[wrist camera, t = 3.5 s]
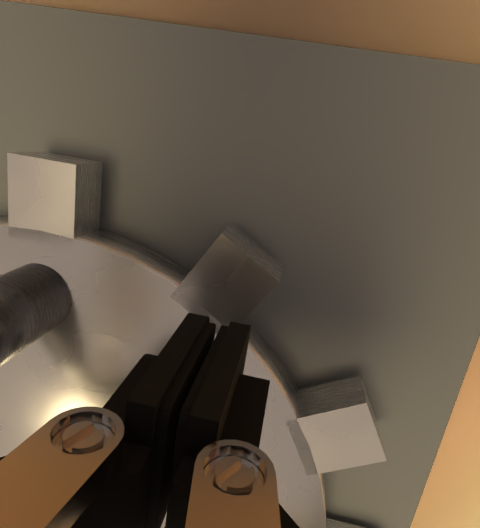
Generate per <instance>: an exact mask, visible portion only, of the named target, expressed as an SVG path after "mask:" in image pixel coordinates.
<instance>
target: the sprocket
mask: <svg viewBox="0 0 480 528" xmlns="http://www.w3.org/2000/svg"><path fill="white" fill-rule="evenodd" d="M102 164H103V162H99V161H93V160H88V159H82V158H76V157H70V156H65V155H59V154H53V153H48V152H42V151H37V152H10V153H7V169H8V217H0V457H3V456H7V455H8V454H9V453H10V452H11V451H13V450H14V449H15V448H16V447H18V446H19V445H20V444H21V443H22V442H24V441H25V440H26V439H27V438H29V437H30V436H31V435H32V434H33V433H35V432H36V431H37V430H38V429H40V428H41V427H42V426H43V425H44V424H46V423H47V422H48V421H49V420H50V419H52V418H53V417H55V416H57V415H58V414H60V413H62V412H64V411H67V410H70V409H72V408H78V407H84V406H88V407H100V408H103V406H104V405H105V404H106V402H107V401H108V400H109V399H110V397H111V396H112V395H113V393H114V392H115V391H116V390H117V388H118V387H119V386H120V384H121V383H122V382H123V381H124V379H125V378H126V377H127V375H128V374H129V373H130V372H131V370H132V369H133V368H134V367H135V365H136V364H137V363H138V361H139V360H140V359H141V358H142V356H143V355H144V354H152V355H157V356H158V355H159V353H160V352H161V351H162V349H163V348H164V346H165V345H166V344H167V342H168V341H169V339H170V338H171V336H172V335H173V334H174V332H175V331H176V329H177V328H178V327H179V325H180V324H181V322H182V321H183V320H184V318H185V317H186V315H187V314H188V313H193V314H198V315H203V316H208V317H209V319H210V321H209V322H210V323H215V324H216V331H215V337H216V335H217V333H218V331H219V329H220V327H221V325H224V326H229V324H230V322H231V321H232V322H237V323H242V324H247V325H251V331H250V337H249V343H248V349H247V355H246V360H245V366H244V372H243V375H248V376H253V377H257V378H262V379H266V380H270V385H269V391H268V397H267V403H266V409H265V415H264V421H263V427H262V433H261V439H260V445H259V449H261V450H262V451H263V452H264V453H265V454H267V455H268V457H269V458H270V460H271V461H272V463H273V465H274V468H275V472H276V478H277V489H278V501H279V504H280V505H281V506H282V507H283V509H284V510H285V511H286V512H287V513H288V514H289V516H290V517H291V518H292V519H293V520H294V521H295V523H296V524H297V525H298V526H299V527H300V528H364V527H360V526H356V525H352V524H348V523H345V522H341V521H337V520H333V519H329V518H326V510H325V486H324V475H323V473H326V472H331V471H337V470H342V469H347V468H352V467H358V466H363V465H368V464H373V463H379V462H384V461H387V459H386V455H385V451H384V447H383V443H382V439H381V434H380V430H379V427H378V424H377V421H376V418H375V415H374V412H373V409H372V406H371V404H370V401H369V398H368V395H367V392H366V389H365V386H364V383H363V381H362V378H361V375H357V376H353V377H349V378H344V379H340V380H336V381H332V382H328V383H324V384H320V385H316V386H312V387H308V388H303V389H299V390H297V387H296V385H295V383H294V381H293V380H292V378H291V377H290V375H289V374H288V372H287V370H286V369H285V367H284V366H283V364H282V363H281V361H280V360H279V358H278V357H277V355H276V353H275V352H274V350H273V349H272V348H271V347H270V345H269V344H268V343H267V342H266V341H265V340H264V338H263V337H262V336H261V335H260V334H259V332H258V331H257V330H256V329H255V328H254V326H253V325H252V324H251V323H250V322H249V321H248V319H247V318H246V317H247V316H248V315H249V314H250V313H251V312H252V311H253V310H254V309H255V307H256V306H257V305H258V304H259V303H260V302H261V301H262V300H263V299H264V298H265V297H266V295H267V294H268V293H269V292H270V291H271V290H272V289H273V288H274V287H275V286H276V285H277V283H278V282H279V281H280V276H281V272H282V267H283V265H282V264H280V263H279V262H278V261H277V260H276V259H274V258H273V257H272V256H271V255H270V254H268V253H267V252H266V251H265V250H264V249H262V248H261V247H260V246H259V245H258V244H256V243H255V242H254V241H253V240H252V239H250V238H249V237H248V236H247V235H246V234H244V233H243V232H242V231H241V230H239V229H238V228H237V227H236V226H235V225H233V224H232V223H231V224H230V225H229V226H228V227H227V228H226V229H225V230H224V231H223V232H222V233H221V234H220V236H219V237H218V238H217V239H216V240H215V242H214V243H213V244H212V245H211V247H210V248H209V249H208V250H207V252H206V253H205V254H204V255H203V256H202V258H201V259H200V260H199V261H198V263H197V264H196V265H195V266H194V268H193V269H192V270H191V271H188V270H187V269H186V268H184V267H183V266H181V265H179V264H177V263H176V262H174V261H172V260H170V259H168V258H166V257H165V256H163V255H161V254H159V253H157V252H156V251H154V250H152V249H150V248H148V247H147V246H144V245H142V244H139V243H137V242H134V241H132V240H129V239H127V238H124V237H122V236H119V235H117V234H114V233H112V232H109V231H106V230H102V229H99V223H100V203H101V184H102ZM214 340H215V338H214ZM166 515H167V513H166ZM166 515H165V518H164V520H163V523H162V525H161V528H165V523H166Z"/></svg>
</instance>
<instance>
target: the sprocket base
mask: <svg viewBox="0 0 480 528" xmlns="http://www.w3.org/2000/svg"><path fill="white" fill-rule="evenodd" d="M37 151H42V152H48V153H53V154H59V155H65V156H70V157H76V158H82V159H88V160H93V161H99V162H103V164H102V184H101V203H100V223H99V229H102V230H106V231H109V232H112V233H114V234H117V235H119V236H122V237H124V238H127V239H129V240H132V241H134V242H137V243H139V244H142V245H144V246H147V247H148V248H150V249H152V250H154V251H156V252H157V253H159V254H161V255H163V256H165V257H166V258H168V259H170V260H172V261H174V262H176V263H177V264H179V265H181V266H183V267H184V268H186V269H187V270H188V271H191V270H192V269H193V268H194V266H195V265H196V264H197V263H198V261H199V260H200V259H201V258H202V256H203V255H204V254H205V253H206V252H207V250H208V249H209V248H210V247H211V245H212V244H213V243H214V242H215V240H216V239H217V238H218V237H219V236H220V234H221V233H222V232H223V231H224V230H225V229H226V228H227V227H228V226H229V225H230V224H231V223H232V224H233V225H235V226H236V227H237V228H238V229H239V230H241V231H242V232H243V233H244V234H246V235H247V236H248V237H249V238H250V239H252V240H253V241H254V242H255V243H256V244H258V245H259V246H260V247H261V248H262V249H264V250H265V251H266V252H267V253H268V254H270V255H271V256H272V257H273V258H274V259H276V260H277V261H278V262H279V263H280V264H282V265H283V267H282V272H281V276H280V281H279V282H278V283H277V285H276V286H275V287H274V288H273V289H272V290H271V291H270V292H269V293H268V294H267V295H266V297H265V298H264V299H263V300H262V301H261V302H260V303H259V304H258V305H257V306H256V307H255V309H254V310H253V311H252V312H251V313H250V314H249V315H248V316H247V317H246V318H247V319H248V321H249V322H250V323H251V324H252V325H253V326H254V328H255V329H256V330H257V331H258V332H259V334H260V335H261V336H262V337H263V338H264V340H265V341H266V342H267V343H268V344H269V345H270V347H271V348H272V349H273V350H274V352H275V353H276V355H277V357H278V358H279V360H280V361H281V363H282V364H283V366H284V367H285V369H286V370H287V372H288V374H289V375H290V377H291V378H292V380H293V381H294V383H295V385H296V387H297V390H299V389H303V388H308V387H312V386H316V385H320V384H324V383H328V382H332V381H336V380H340V379H344V378H349V377H353V376H357V375H361V378H362V381H363V383H364V386H365V389H366V392H367V395H368V398H369V401H370V404H371V406H372V409H373V412H374V415H375V418H376V421H377V424H378V427H379V430H380V434H381V439H382V443H383V447H384V451H385V455H386V459H387V461H384V462H379V463H373V464H368V465H363V466H358V467H352V468H347V469H342V470H337V471H331V472H326V473H323V475H324V486H325V510H326V518H329V519H333V520H337V521H341V522H345V523H348V524H352V525H356V526H360V527H364V528H410V526H411V523H412V520H413V518H414V515H415V512H416V509H417V507H418V504H419V501H420V498H421V496H422V493H423V490H424V487H425V484H426V482H427V479H428V476H429V473H430V471H431V468H432V465H433V462H434V460H435V457H436V454H437V451H438V449H439V446H440V443H441V440H442V438H443V435H444V432H445V429H446V427H447V424H448V421H449V418H450V416H451V413H452V410H453V407H454V405H455V402H456V399H457V396H458V394H459V391H460V388H461V385H462V383H463V380H464V377H465V374H466V372H467V369H468V366H469V363H470V361H471V358H472V355H473V352H474V349H475V347H476V344H477V341H478V338H479V336H480V65H479V64H472V63H464V62H457V61H449V60H442V59H435V58H427V57H420V56H412V55H405V54H397V53H390V52H382V51H375V50H368V49H360V48H353V47H345V46H338V45H330V44H323V43H316V42H308V41H301V40H293V39H286V38H278V37H271V36H263V35H256V34H249V33H241V32H234V31H226V30H219V29H211V28H204V27H196V26H189V25H182V24H174V23H167V22H159V21H152V20H144V19H137V18H130V17H122V16H115V15H107V14H100V13H92V12H85V11H77V10H70V9H63V8H55V7H48V6H40V5H33V4H25V3H18V2H11V1H3V0H0V217H8V169H7V153H10V152H37Z"/></svg>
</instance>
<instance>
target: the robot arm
mask: <svg viewBox="0 0 480 528" xmlns="http://www.w3.org/2000/svg"><path fill="white" fill-rule="evenodd" d="M209 321H210V319H209V317H208V316H203V315H198V314H193V313H188V314H187V315H186V317H185V318H184V320H183V321H182V322H181V324H180V325H179V327H178V328H177V329H176V331H175V332H174V334H173V335H172V336H171V338H170V339H169V341H168V342H167V344H166V345H165V346H164V348H163V349H162V351H161V352H160V353H159V355H158V356H157V355H152V354H144V355H143V356H142V358H141V359H140V360H139V361H138V363H137V364H136V365H135V367H134V368H133V369H132V370H131V372H130V373H129V374H128V375H127V377H126V378H125V379H124V381H123V382H122V383H121V384H120V386H119V387H118V388H117V390H116V391H115V392H114V393H113V395H112V396H111V397H110V399H109V400H108V401H107V402H106V404H105V405H104V406H103V408H100V407H88V406H84V407H78V408H72V409H70V410H67V411H64V412H62V413H60V414H58V415H57V416H55V417H53V418H52V419H50V420H49V421H48V422H47V423H46V424H44V425H43V426H42V427H41V428H40V429H38V430H37V431H36V432H35V433H33V434H32V435H31V436H30V437H29V438H27V439H26V440H25V441H24V442H22V443H21V444H20V445H19V446H18V447H16V448H15V449H14V450H13V451H11V452H10V453H9V454H8V455H7V456H3V457H0V528H161V525H162V523H163V520H164V518H165V515H166V513H167V515H166V523H165V528H300V527H299V526H298V525H297V524H296V523H295V521H294V520H293V519H292V518H291V517H290V516H289V514H288V513H287V512H286V511H285V510H284V509H283V507H282V506H281V505H280V504H279V501H278V489H277V478H276V472H275V468H274V465H273V463H272V461H271V460H270V458H269V457H268V455H267V454H265V453H264V452H263V451H262V450H261V449H259V445H260V439H261V433H262V427H263V421H264V415H265V409H266V403H267V397H268V391H269V385H270V380H266V379H262V378H257V377H253V376H248V375H243V372H244V366H245V360H246V355H247V349H248V343H249V337H250V331H251V325H247V324H242V323H237V322H232V321H231V322H230V324H229V326H224V325H221V327H220V329H219V331H218V333H217V335H216V337H215V331H216V324H215V323H210V322H209ZM214 338H215V340H214Z"/></svg>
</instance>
